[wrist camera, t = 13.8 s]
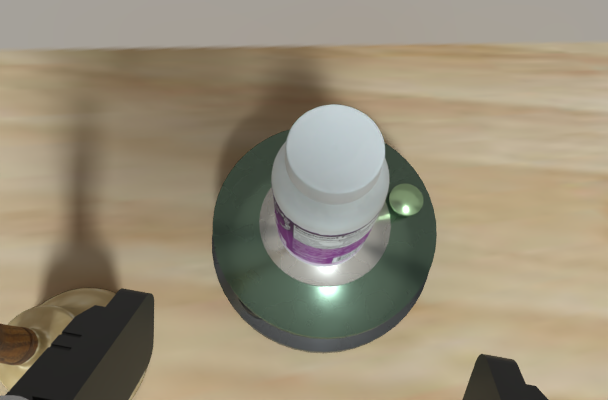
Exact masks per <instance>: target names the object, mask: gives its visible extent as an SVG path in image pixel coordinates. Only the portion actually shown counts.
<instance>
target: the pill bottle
mask: <svg viewBox="0 0 608 400" xmlns="http://www.w3.org/2000/svg"><path fill="white" fill-rule="evenodd" d="M271 184H272V192H273V200H274V210H275V219H276V227H277V231H278V235H279V237H280V240H281V242H282V244H283V245H284V247H285V248H286V249H287V251H288V252H289V253H290V254H291V255H293V256H294V257H295V258H297V259H298V260H300V261H302V262H304V263H306V264H308V265H313V266H317V267H329V266H334V265H339V264H341V263H344V262H346V261H347V260H349V259H351V258H352V257H353V256H354V255H355V254H356V253H357V252H358V251H359V250H360V249H361V248H362V246H363V244H364V243H365V241H366V239H367V238H368V236H369V233H370V231H371V229H372V227H373V225H374V223H375V221H376V219H377V217H378V215H379V213H380V211H381V209H382V207H383V205H384V203H385V200H386V196H387V193H388V189H389V169H388V165H387V162H386V159H385V143H384V139H383V136H382V134H381V132H380V130H379V128H378V127H377V125H376V124H375V122H374V121H373V120H372V119H371V118H369V117H368V116H367V115H366V114H364V113H362V112H361V111H359V110H357V109H355V108H352V107H349V106H344V105H337V104H331V105H323V106H319V107H316V108H314V109H312V110H309V111H307V112H306V113H304V114H303V115H302V116H301V117H299V118H298V119H297V121H296V122H295V123H294V124H293V126H292V127H291V129H290V131H289V134H288V136H287V140H286V142H285V143H284V144H283V145H282V147H281V148H280V150H279V152H278V154H277V156H276V158H275V160H274V164H273V168H272V175H271Z"/></svg>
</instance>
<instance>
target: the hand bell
mask: <svg viewBox="0 0 608 400" xmlns="http://www.w3.org/2000/svg"><path fill="white" fill-rule="evenodd" d="M115 294H116V293H113V292H111V291H108V290H104V289H99V288H80V289H74V290H70V291H66V292H64V293H61V294H59V295H57V296H55V297H53V298H51V299H49V300H48V301H46V302H44V303H43V304H42V305H40V306H37V307H34V308H31V309H28V310H26V311H24V312H22V313H21V314H19V315H18V316H16V317H15V318H14V319H13V320H11V321H10V322H9V323H8V325H3V324H0V382H1V383H2V384H3V385H4V387H5V388H7V390H8V392H9V390H10V389H11V388H12V387H13V386H14V385H15V384H16V383H17V381H18V380H19V379H20V378H21V377H22V376H23V375H24V374H25V372H26V371H27V370H28V369H29V368H30V367H31V366H32V365H33V363H34V362H35V361H36V360H37V359H38V358H39V357H40V356H41V354H42V353H43V352H44V351H45V350H46V349H47V348H48V347H50V346H51V343H52V342H53V341H54V340H55V339H56V338H57V336H58V335H59V334H60V335H61V334H62V331H63V330H64V329H65V327H66V326H67V325H68V324H69V323H70V322H71V321H72V320H73V318H74V317H75V316H77V315H79V314H80V313H82V312H84V311H86V310H87V309H89V308H91V307H93V306H94V305H97V306H103V307H106V305H107V304H108V303H109V302H110V301H111V299H112V298H113V297H114V296H115ZM146 369H147V368H146ZM145 372H146V370H145ZM145 372H144V374H143V376H142V377H141V379H140V381H139V383H138V384H137V386H136V388H135V390H134V391H133V393H132V395H131V397H130V398H129V400H131V399H132V398H133V396H134V395H135V394H136V392H137V390H138V388H139V386H140V385H141V383H142V380H143V378H144V375H145Z"/></svg>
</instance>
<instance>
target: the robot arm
mask: <svg viewBox="0 0 608 400" xmlns="http://www.w3.org/2000/svg"><path fill="white" fill-rule="evenodd" d="M153 338H154V297H153V295H152V294H150V293H145V292H139V291H134V290H128V289H120V290H119V291H118V292H117V293H116V294H115V296H114V297H113V298H112V299H111V301H110V302H109V303H108V304H107V305H106V307H103V306H97V305H94V306H93V307H91V308H89V309H87V310H86V311H84V312H82V313H80V314H79V315H77V316H75V317H74V318H73V320H72V321H71V322H70V323H69V324H68V325H67V326H66V327H65V329H64V330H63V331H62V334H61V335H60V334H59V335H58V336H57V338H56V339H55V340H54V341H53V342H52V343H51V346H50V347H48V348H47V349H46V350H45V351H44V352H43V353H42V354H41V356H40V357H39V358H38V359H37V360H36V361H35V362H34V363H33V365H32V366H31V367H30V368H29V369H28V370H27V371H26V372H25V374H24V375H23V376H22V377H21V378H20V379H19V380H18V381H17V383H16V384H15V385H14V386H13V387H12V388H11V389H10V390H9V392H8V393H7V394H6V395H5V396H0V400H129V398H130V397H131V395H132V393H133V391H134V390H135V388H136V386H137V384H138V383H139V381H140V379H141V377H142V376H143V374H144V372H145V370H146V368H147V366H148V364H149V361H150V358H151V355H152V350H153ZM463 400H548V399H547V398H546V397H545V396H544V395H543V393H542V392H541V391H540V390H539V389H538V388H537V387H536V386H532V385H527V384H525V381H524V379H523V377H522V374H521V372H520V370H519V367H518V365H517V363H516V362H515V361H514V360H512V359H507V358H502V357H496V356H491V355H485V354H481V355H479V357H478V358H477V360H476V363H475V366H474V369H473V372H472V374H471V377H470V380H469V383H468V386H467V389H466V391H465V394H464V397H463Z"/></svg>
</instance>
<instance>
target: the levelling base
mask: <svg viewBox="0 0 608 400" xmlns="http://www.w3.org/2000/svg"><path fill="white" fill-rule="evenodd" d="M289 131H290V130H286V131H283V132H281V133H278V134H276V135H274V136H271V137H269V138H268V139H266V140H264V141H263V142H261V143H259V144H258V145H256V146H255V147H254V148H252V149H251V150H250V151H249V152H247V153H246V154H245V155H244V156H243V157H242V158H241V159H240V160H239V161H238V163H237V164H236V165H235V166H234V168H233V169H232V170H231V172H230V173H229V175H228V177H227V178H226V180H225V182H224V183H223V186H222V188H221V190H220V193H219V195H218V198H217V202H216V206H215V210H214V218H213V236H212V254H213V260H214V267H215V270H216V273H217V277H218V280H219V282H220V285H221V287H222V289H223V291H224V293H225V295H226V297H227V298H228V300H229V301H230V303H231V304H232V306H233V307H234V309H235V310H236V311H237V312H238V314H239V315H240V316H241V317H242V318H243V320H245V321H246V322H247V323H248V324H249V325H250V326H251V327H252V328H253V329H255V330H256V331H257V332H259V333H260V334H262V335H263V336H265V337H266V338H268V339H270V340H272V341H274V342H276V343H278V344H280V345H283V346H286V347H289V348H292V349H295V350H300V351H305V352H313V353H332V352H341V351H346V350H350V349H354V348H357V347H360V346H362V345H365V344H368V343H370V342H372V341H373V340H375V339H377V338H379V337H381V336H382V335H384V334H385V333H386V332H388V331H389V330H391V329H392V328H393V327H395V326H396V325H397V324H398V323H399V322H400V321H401V320H402V319H403V318H404V317H405V316H406V315H407V314H408V312H409V311H410V310H411V308H412V307H413V306H414V304H415V303H416V301H417V299H418V297H419V296H420V294H421V292H422V290H423V287H424V285H425V282H426V280H427V276H428V272H429V270H430V267H431V264H432V261H433V257H434V253H435V247H436V220H435V215H434V209H433V206H432V203H431V200H430V197H429V194H428V192H427V190H426V188H425V186H424V184H423V182H422V180H421V179H420V177H419V176H418V174H417V173H416V171H415V170H414V169H413V167H412V166H411V165H410V164H409V163H408V162H407V160H406V159H404V158H403V157H402V156H401V155H400V154H399V153H398V152H397V151H396V150H394V149H393V148H391V147H390V146H389V145H387V144H386V143H385V159H386V162H387V165H388V169H389V189H388V193H387V196H386V200H385V203H384V205H383V207H382V209H381V211H380V213H379V215H378V217H377V219H376V221H375V223H374V225H373V227H372V229H371V231H370V233H369V236H368V238H367V239H366V241H365V243H364V244H363V246H362V248H361V249H360V250H359V251H358V252H357V253H356V254H355V255H354V256H353V257H352V258H351V259H349V260H347V261H346V262H344V263H341V264H339V265H334V266H329V267H317V266H313V265H308V264H306V263H304V262H302V261H300V260H298V259H297V258H295V257H294V256H293V255H291V254H290V253H289V252H288V251H287V249H286V248H285V247H284V245H283V244H282V242H281V240H280V237H279V235H278V231H277V227H276V219H275V210H274V200H273V192H272V184H271V175H272V168H273V164H274V160H275V158H276V156H277V154H278V152H279V150H280V148H281V147H282V145H283V144H284V143H285V142H286V140H287V136H288V134H289Z"/></svg>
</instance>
